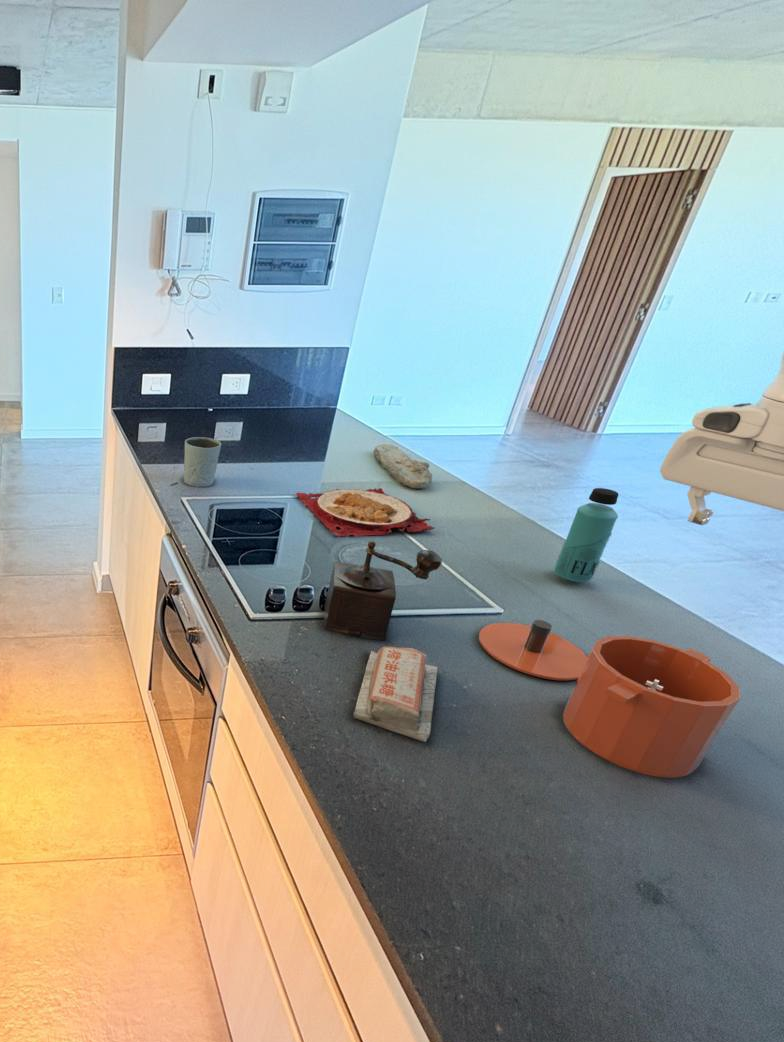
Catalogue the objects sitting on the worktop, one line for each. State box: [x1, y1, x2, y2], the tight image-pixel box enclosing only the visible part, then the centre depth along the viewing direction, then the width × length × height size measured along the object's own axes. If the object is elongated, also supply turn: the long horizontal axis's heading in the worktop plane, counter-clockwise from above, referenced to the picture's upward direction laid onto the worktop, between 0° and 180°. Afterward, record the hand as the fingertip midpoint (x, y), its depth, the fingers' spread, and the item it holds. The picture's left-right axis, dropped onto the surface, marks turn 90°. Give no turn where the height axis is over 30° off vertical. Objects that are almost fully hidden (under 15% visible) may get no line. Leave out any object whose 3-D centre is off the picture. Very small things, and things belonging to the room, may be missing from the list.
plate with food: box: [295, 487, 436, 537], centre depth 157 cm, size 24×26×4 cm
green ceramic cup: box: [183, 436, 222, 488], centre depth 177 cm, size 10×10×12 cm
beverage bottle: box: [554, 487, 619, 583], centre depth 122 cm, size 6×7×20 cm
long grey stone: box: [372, 443, 433, 489], centre depth 185 cm, size 35×5×10 cm
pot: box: [562, 635, 741, 779], centre depth 85 cm, size 15×20×12 cm
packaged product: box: [353, 646, 438, 743], centre depth 95 cm, size 18×5×10 cm
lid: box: [478, 619, 588, 681], centre depth 104 cm, size 16×16×6 cm
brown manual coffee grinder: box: [323, 540, 443, 641], centre depth 109 cm, size 16×11×18 cm
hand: (745, 537), depth 75 cm, fingers open, 8 cm apart
